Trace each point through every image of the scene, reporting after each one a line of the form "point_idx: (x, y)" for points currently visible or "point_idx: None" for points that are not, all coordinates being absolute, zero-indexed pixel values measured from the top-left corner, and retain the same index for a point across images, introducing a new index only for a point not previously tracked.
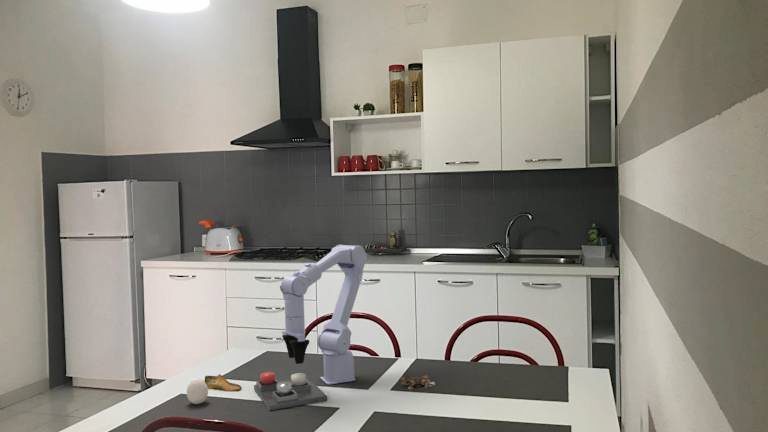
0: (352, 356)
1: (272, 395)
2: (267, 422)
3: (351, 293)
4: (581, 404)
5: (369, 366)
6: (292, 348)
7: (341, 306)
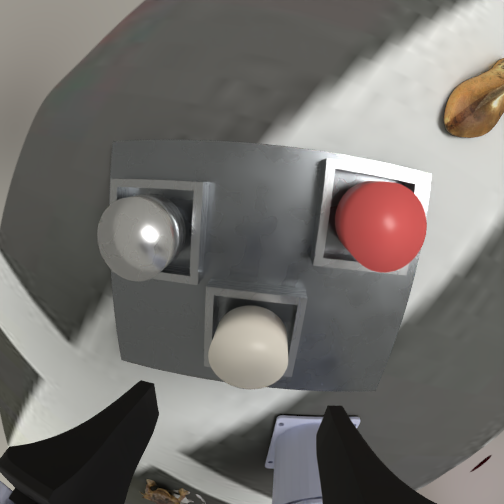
0: None
1: (202, 181)
2: (47, 121)
3: None
4: None
5: None
6: (333, 473)
7: None
